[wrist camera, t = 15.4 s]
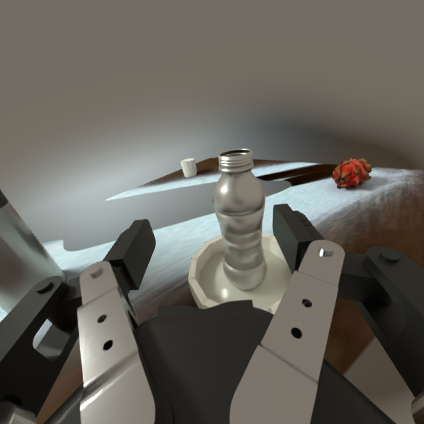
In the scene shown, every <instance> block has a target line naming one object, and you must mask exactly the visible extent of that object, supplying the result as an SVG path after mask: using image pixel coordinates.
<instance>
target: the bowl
mask: <svg viewBox="0 0 424 424" xmlns="http://www.w3.org/2000/svg"><path fill="white" fill-rule="evenodd" d="M262 245H263V252H264V256H265V259H266V264H267V273H266V277H265V280H264V281H263V283H262V284H260V285H259V286H258V287H256V288H254V289H249V290H244V289H239V288H237V287H235V286H233V285H232V284H231V283H230V282H229V281H228V280H227V278H226V276H225V273H224V271H223V258H224V247H223V238H222V235H220V236H218V237H216V238H214V239H211V240H209V241H207V242H205V243H204V245H203V246H202V247H201V248H200V249H199V250H198V251H197V253H196V254H195V255H194V256H193V257H192V258H191V264H190V270H189V276H188V282H189V286H190V289H191V292H192V295H193V298H194V300H195V302H196V304H197V305H198V307H199V308H201V309H207V308H210V307H213V306H216V305H219V304H222V303H225V302H228V301H239V300H251V299H252V302H253V307H256V308H260V309H263V310H266V311H268V312H270V313H272V314H275V312H276V310H277V308H278V305H279V303H280V301H281V299H282V297H283V295H284V292H285V290H286V288H287V286H288V284H289V282H290V280H291V277H292V273H291V271H290V268H289V266H288V264H287V262H286V260H285V258H284V255H283V253H282V251H281V249H280V247H279V245H278V243H277V240H276V238H275V236H274V235H270V234H265V233H262Z"/></svg>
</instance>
